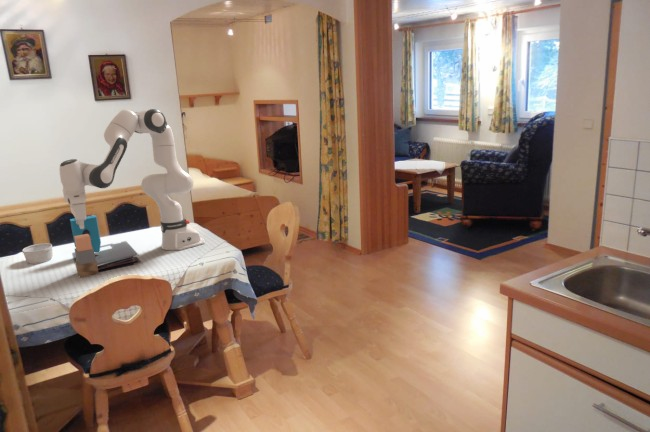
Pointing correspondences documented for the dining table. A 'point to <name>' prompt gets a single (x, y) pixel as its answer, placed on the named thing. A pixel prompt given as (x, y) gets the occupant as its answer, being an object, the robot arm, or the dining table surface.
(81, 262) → the tower top
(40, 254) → the ramekin
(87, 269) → the tower base
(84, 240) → the terracotta cube
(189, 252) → the dining table surface
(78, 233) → the block
